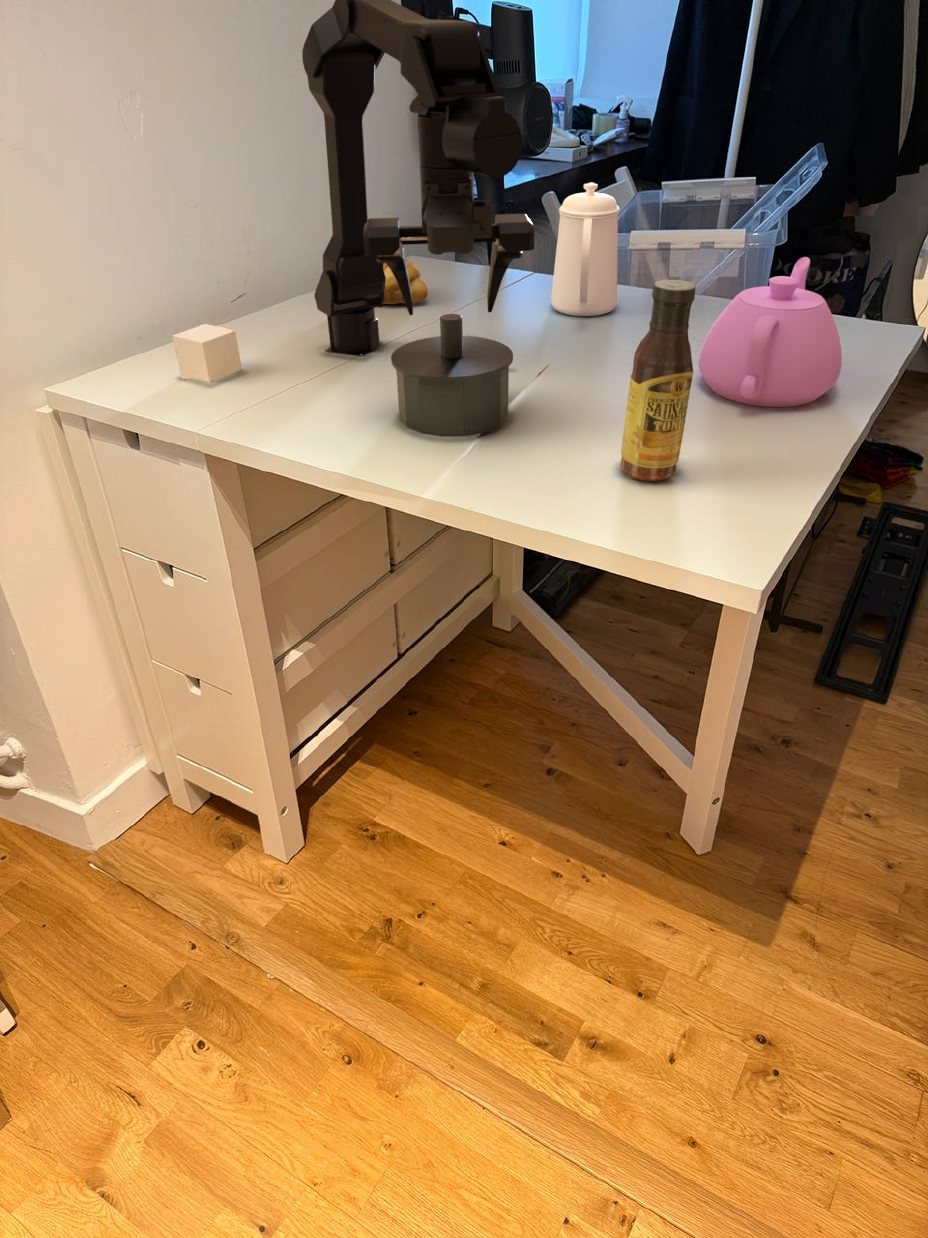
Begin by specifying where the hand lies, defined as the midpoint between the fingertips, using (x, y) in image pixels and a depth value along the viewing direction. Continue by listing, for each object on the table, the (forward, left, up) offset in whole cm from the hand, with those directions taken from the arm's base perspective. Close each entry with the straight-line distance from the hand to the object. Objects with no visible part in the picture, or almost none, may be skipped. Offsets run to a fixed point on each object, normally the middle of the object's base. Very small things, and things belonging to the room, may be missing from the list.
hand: (450, 312), depth 102 cm
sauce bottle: (+27, -7, -13) cm, 30 cm away
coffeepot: (+3, +49, -13) cm, 51 cm away
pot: (+1, -1, -13) cm, 13 cm away
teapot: (+35, +24, -13) cm, 44 cm away
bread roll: (-29, +42, -13) cm, 53 cm away
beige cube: (-37, +1, -13) cm, 40 cm away
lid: (0, -1, -5) cm, 5 cm away
